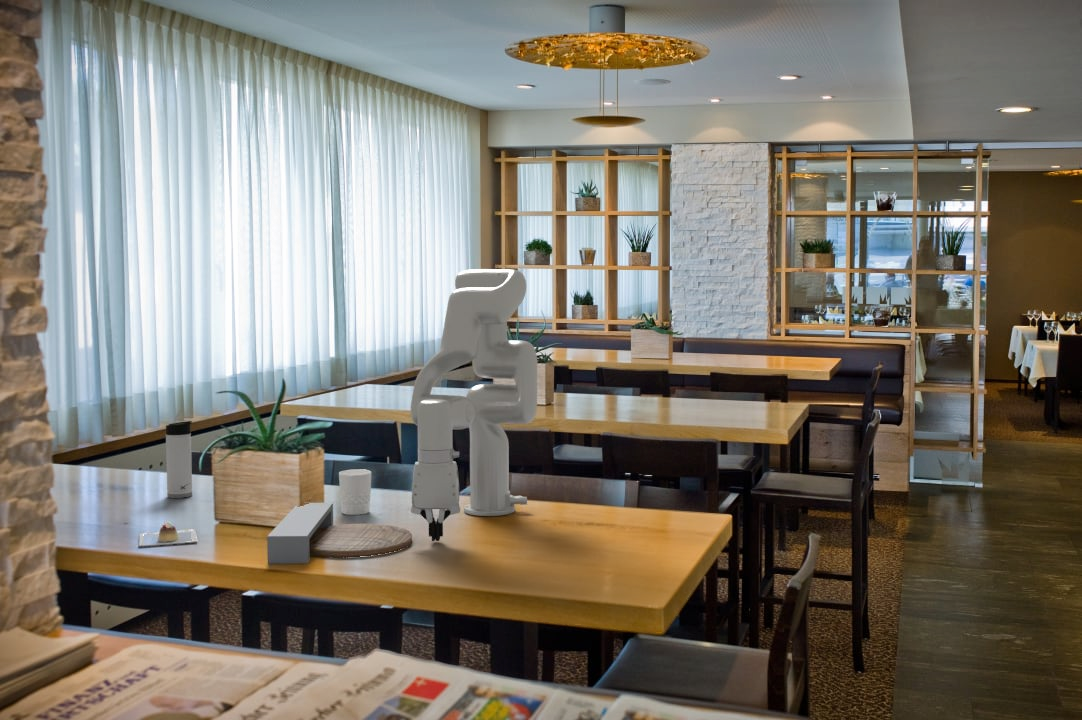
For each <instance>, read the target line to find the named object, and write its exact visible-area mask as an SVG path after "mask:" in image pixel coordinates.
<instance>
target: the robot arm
mask: <svg viewBox="0 0 1082 720" xmlns="http://www.w3.org/2000/svg"><path fill="white" fill-rule="evenodd" d="M454 282H455V283H454V285H455V290H454V291H452V292H451V294H450V295H449V297H448V302H447V308H446V311H445V318H444V326H443V330H442V335H441V340H440V341H441V343H440V347H439V350H437V352H436V353H435V354H433V355H432V356H431V357H430V358H429V360H428V361H427V362H425V364H424V365H423V367H421V369H420V371H419V372H418V374H417V376H416V378H415V381H414V385H413V391H412V395H411V403H410V418H411V421H412V422H413V424H414V425H416V426H417V461H415V462H414V466H413V471H412V472H413V474H412V484H411V504H412V505H411V507H410V508H411V509H410V512H411V514H415V515H419V516H422V518H423V519H425V520H426V522H427V523H428V537H431V542H440V539H441V537H442V538H443V536H444V521H445V520H447V518H449V517H450V516H451V515H456V514H459V513H461V507H460V503H459V502H460V482H459V481H460V480H459V471H458V465H457V462H456V461H454V459H456V458H459V457H460V451H459V450H457V451H456V450H455V449H454V446H453V430H464V429H467V428H468V429H469V483H470V484H469V492H470V493H469V495H470V496H469V503H468V504H466V505H464V507H463V512H464V513H465V514H467V515H472V516H476V517H477V516H479V517H499V516H506V515H510V514H512V513H515V511H516V506H515V505H521V506H522V505H528V497H527V496H522V495H512V494H511V490H510V489H509V486H510V485H509V483H510V481H509V480H510V477H509V476H510V475H509V474H510V473H509V471H510V470H509V468H510V467H509V464H510V461H509V455H510V454H509V452H510V451H509V450H510V449H509V448H510V446H509V444H510V443H509V438H508V435H507V434H506V432H505V430H504V429H503V427H502V426H501V424H507V425H509V424H510V425H511V424H512V425H527V424H530V423H532V422H533V421H534V420H535V417H536V414H537V411H538V409H537V408H538V357H537V351H536V349H535V346H534V345H533V344H532V343H531V342H529V341H526V340H520V339H518V340H517V339H516V340H515V339H514V340H513V339H508V327H507V326H508V321H509V320H510V319H511V317H512V316H513V315H514V313H515V312H516V311H517V309H518V308H519V307H520V306H521V304H522V303H523V301H524V298H526V293H527V280H526V277H525V275H524V273H522V272H521V271H520V270H518V269H512V268H511V269H510V268H506V269H505V268H502V269H501V268H499V269H497V268H494V269H493V268H492V269H491V268H475V269H473V268H472V269H466V270H462V271H460V272H458V273H457V275H455V280H454ZM470 362H472V363H471V364H472V369H473V372H474V374H475V375H476V376H477V377H480V378H482V379H483V378H485V379H492V380H493V379H498V380H499V379H500V380H501V379H502V380H513V381H514V383H515V384H503V383H499V384H498V383H482V384H476V385H474V386H472V387H471V388H470V389H469V390H468V391H467V393H466V396H462V395H451V394H431V392H432V390H433V387H434V385H435V384H436V382H437V381H438V380H439V379H440V378H441V377H442V376H443V375H445V374H446V373H448V372H450V371H452V370H454V369H457V368H459V367H460V366H463V365H466V364H468V363H470ZM433 510H439V511H438V517H437V519H436V518H435V517H434V511H433Z"/></svg>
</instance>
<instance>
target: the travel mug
mask: <svg viewBox="0 0 1082 720" xmlns="http://www.w3.org/2000/svg"><path fill="white" fill-rule="evenodd" d="M192 423H193V422H192V420H188V421H180V422H173V423H168V425H167V424H166V425H165V450H166V452H165V454H166V455H165V456H166V459H165V460H166V489H167V493H166V494H167V496H166V497H167V498H169V497H170V498H169V499H174V498H179V499H184V498H183V497H187V498H190V497H189V496H193V474H192V469H193V468H192V467H193V466H192V465H193V464H192V436H191V435H192V433H191V425H192Z"/></svg>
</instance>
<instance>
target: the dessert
mask: <svg viewBox="0 0 1082 720" xmlns="http://www.w3.org/2000/svg"><path fill="white" fill-rule="evenodd" d="M159 529H160V530H159V531H153V532H142V533H139V537H138V546H139V547H141V546H142V548H144V547H143V546H151V547H161V546H160V545H164V546H174V545H173V544H177V545H186V544H185V543H190V544H195V543H196V542H198V536H197V530H196V528H193V529H182V530H181V529H180V530H177V529H176V526H175V525H173V524H172V523H171V522H170V521H169V520H167V521H166V523H165V521H164V524H162V525H161V527H160V528H159ZM189 532H191V538H190V541H189V540H188V541H179V540H178V539H180V537H179V534H177V533H189ZM189 534H190V533H189ZM144 535H159V536H157V540H158V541H157V542H159V541H162V542H161V543H151V544H145V545H144V544H143V543H144V542H143V539H144V537H143V536H144ZM191 539H192V541H191ZM174 540H177V541H178V542H177V541H174ZM166 541H172V542H166Z"/></svg>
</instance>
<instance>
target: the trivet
mask: <svg viewBox="0 0 1082 720" xmlns="http://www.w3.org/2000/svg"><path fill="white" fill-rule="evenodd" d="M411 542H412V543H413V534H412V533H411V531H410V530H408V529H406V528H402V527H399V526H395V525H388V524H378V523H349V524H348V523H347V524H336V525H333V526H327V527H322V528H317V530H316V531H315V532H314V533H313V535H312V536H311V537H310V539H309V551H310V556H314V557H320V558H330V557H332V558H333V559H334V558H335V559H349V558H348V557H360V556H371V555H378V554H385V553H389V552H394V551H398V550H400V549H403V548H406V547H407V546H409V545H410V544H411V545H412V543H411ZM411 545H410V546H411ZM410 546H409V547H410ZM407 548H408V547H407ZM407 548H406V549H407ZM403 550H404V549H403ZM400 551H401V550H400ZM398 552H399V551H398ZM394 553H395V552H394ZM385 555H386V554H385ZM343 557H344V558H343ZM346 557H347V558H346ZM332 558H331V559H332ZM360 558H361V557H360Z"/></svg>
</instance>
